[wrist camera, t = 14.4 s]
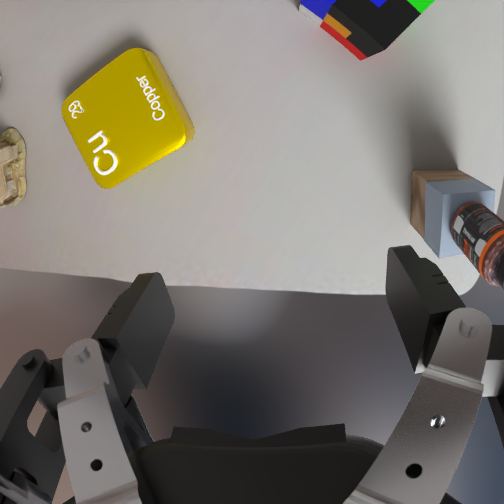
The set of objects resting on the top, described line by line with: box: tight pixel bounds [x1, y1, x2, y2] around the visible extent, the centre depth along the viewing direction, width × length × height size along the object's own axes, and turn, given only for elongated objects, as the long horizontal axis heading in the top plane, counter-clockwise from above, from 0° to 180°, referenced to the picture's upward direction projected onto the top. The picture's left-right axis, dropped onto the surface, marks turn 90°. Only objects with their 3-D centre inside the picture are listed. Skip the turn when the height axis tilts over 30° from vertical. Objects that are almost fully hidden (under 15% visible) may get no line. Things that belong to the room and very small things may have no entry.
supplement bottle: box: [451, 201, 504, 289], centre depth 25 cm, size 6×6×11 cm
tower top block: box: [424, 178, 495, 258], centre depth 32 cm, size 8×8×5 cm
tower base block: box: [411, 170, 474, 239], centre depth 37 cm, size 8×8×5 cm
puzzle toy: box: [299, 0, 435, 60], centre depth 24 cm, size 10×10×10 cm
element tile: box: [62, 48, 194, 189], centre depth 36 cm, size 15×15×5 cm
